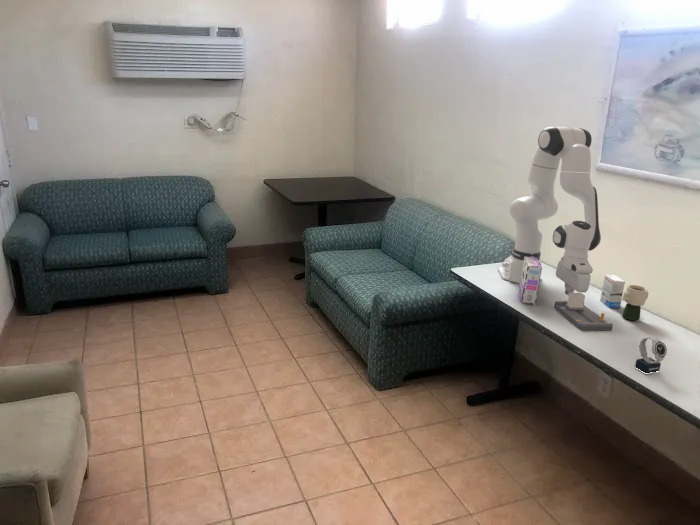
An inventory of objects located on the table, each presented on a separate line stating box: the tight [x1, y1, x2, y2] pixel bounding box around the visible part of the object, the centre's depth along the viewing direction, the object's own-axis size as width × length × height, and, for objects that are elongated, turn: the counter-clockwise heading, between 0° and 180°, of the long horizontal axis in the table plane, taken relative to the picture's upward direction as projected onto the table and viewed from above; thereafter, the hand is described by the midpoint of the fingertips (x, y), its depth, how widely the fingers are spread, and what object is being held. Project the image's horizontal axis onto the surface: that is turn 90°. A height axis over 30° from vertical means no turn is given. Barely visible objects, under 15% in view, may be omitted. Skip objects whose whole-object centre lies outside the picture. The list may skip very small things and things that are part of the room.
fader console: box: [553, 300, 614, 332], centre depth 212 cm, size 22×12×5 cm, turn 6°
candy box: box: [518, 257, 543, 306], centre depth 228 cm, size 14×6×16 cm, turn 168°
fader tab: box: [565, 292, 586, 310], centre depth 217 cm, size 4×6×6 cm, turn 96°
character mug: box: [622, 284, 649, 322], centre depth 214 cm, size 11×7×13 cm, turn 104°
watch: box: [634, 336, 668, 373], centre depth 173 cm, size 6×8×11 cm
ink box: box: [599, 274, 626, 309], centre depth 228 cm, size 9×5×12 cm, turn 0°
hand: (568, 294), depth 223 cm, fingers closed
